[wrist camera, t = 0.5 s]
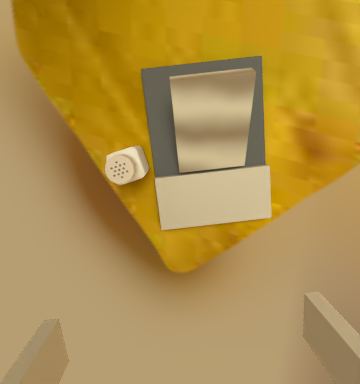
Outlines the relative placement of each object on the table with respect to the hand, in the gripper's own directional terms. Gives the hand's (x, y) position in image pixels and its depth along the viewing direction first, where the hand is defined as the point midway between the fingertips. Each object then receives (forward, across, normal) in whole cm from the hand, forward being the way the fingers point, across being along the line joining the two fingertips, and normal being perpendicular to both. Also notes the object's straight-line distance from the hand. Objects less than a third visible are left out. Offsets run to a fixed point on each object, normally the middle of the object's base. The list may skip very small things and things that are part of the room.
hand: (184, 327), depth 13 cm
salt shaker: (+25, -6, +7) cm, 26 cm away
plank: (+20, +5, +11) cm, 24 cm away
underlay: (+24, +5, +8) cm, 26 cm away
